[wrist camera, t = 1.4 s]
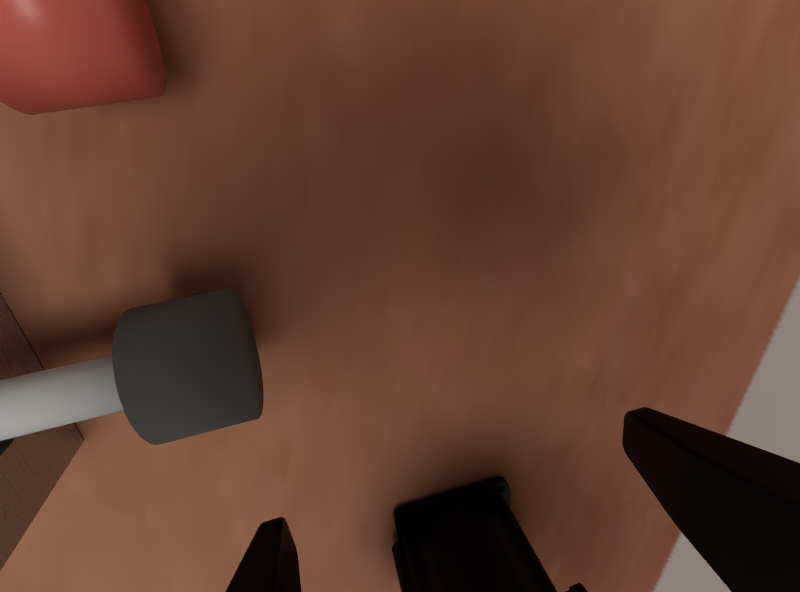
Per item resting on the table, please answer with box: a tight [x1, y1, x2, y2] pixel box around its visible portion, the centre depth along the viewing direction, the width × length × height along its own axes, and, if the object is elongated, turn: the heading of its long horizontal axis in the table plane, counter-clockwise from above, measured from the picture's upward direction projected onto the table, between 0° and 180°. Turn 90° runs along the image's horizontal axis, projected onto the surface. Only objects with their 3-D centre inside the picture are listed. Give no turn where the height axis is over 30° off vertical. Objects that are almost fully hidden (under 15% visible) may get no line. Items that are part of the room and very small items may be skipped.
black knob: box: [0, 288, 263, 445], centre depth 14 cm, size 12×4×4 cm, turn 99°
